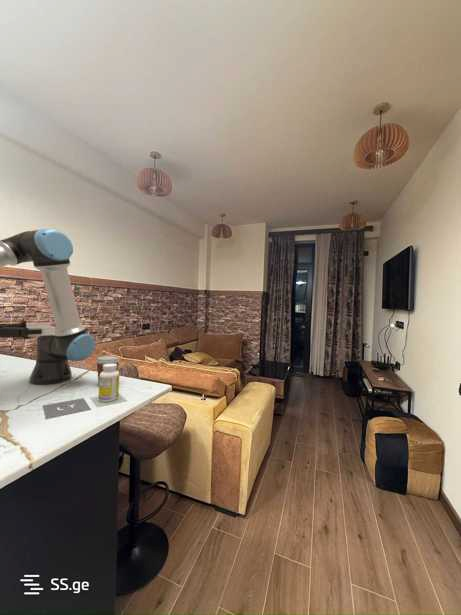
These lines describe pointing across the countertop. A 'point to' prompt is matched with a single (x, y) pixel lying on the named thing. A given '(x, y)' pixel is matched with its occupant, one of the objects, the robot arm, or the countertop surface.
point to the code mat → (65, 408)
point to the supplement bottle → (109, 383)
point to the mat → (99, 403)
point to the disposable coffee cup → (106, 362)
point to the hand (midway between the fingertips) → (52, 328)
